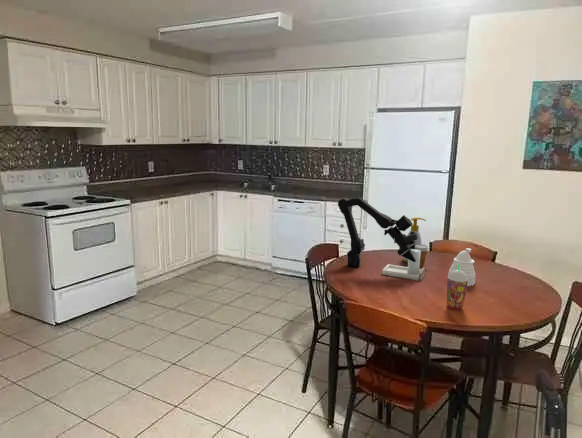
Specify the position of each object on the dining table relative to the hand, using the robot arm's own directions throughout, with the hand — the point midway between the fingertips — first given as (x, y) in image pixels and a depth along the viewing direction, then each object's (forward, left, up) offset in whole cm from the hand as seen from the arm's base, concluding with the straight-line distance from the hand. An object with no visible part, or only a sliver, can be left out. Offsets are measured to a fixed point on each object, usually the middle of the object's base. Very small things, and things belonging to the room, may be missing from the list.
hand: (417, 259), depth 224 cm
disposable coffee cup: (0, +20, -10) cm, 22 cm away
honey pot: (+23, +2, -10) cm, 25 cm away
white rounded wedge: (-1, 0, -8) cm, 8 cm away
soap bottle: (-4, +29, -10) cm, 30 cm away
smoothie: (+20, -36, -10) cm, 42 cm away
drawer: (-6, +1, -9) cm, 11 cm away
